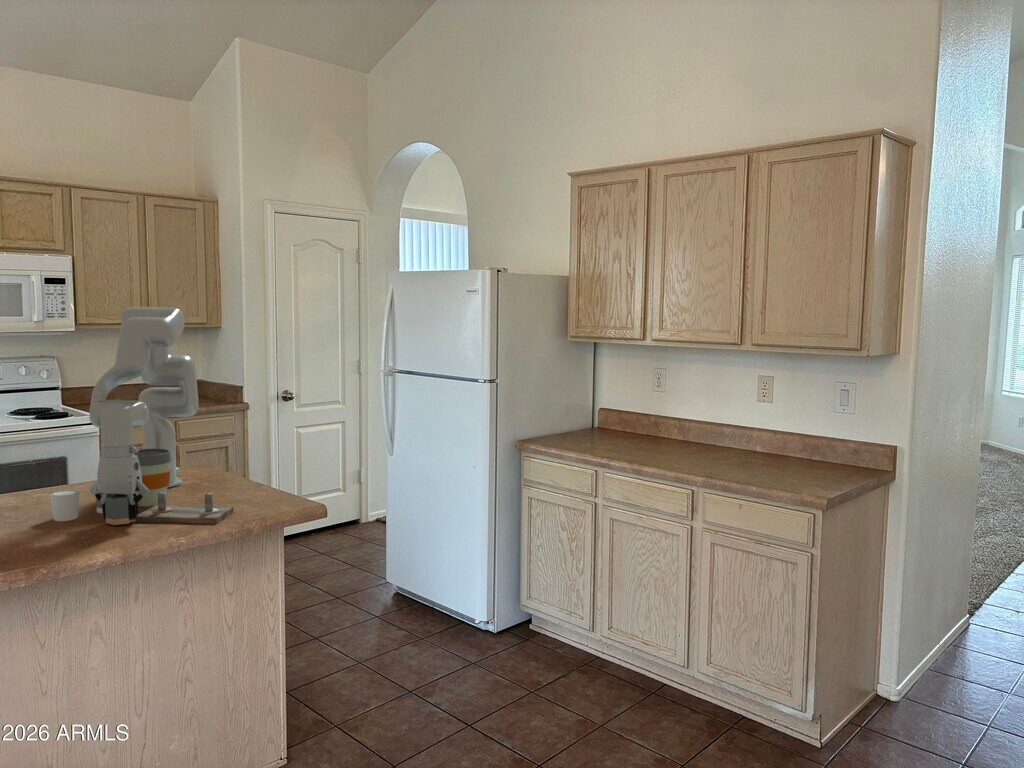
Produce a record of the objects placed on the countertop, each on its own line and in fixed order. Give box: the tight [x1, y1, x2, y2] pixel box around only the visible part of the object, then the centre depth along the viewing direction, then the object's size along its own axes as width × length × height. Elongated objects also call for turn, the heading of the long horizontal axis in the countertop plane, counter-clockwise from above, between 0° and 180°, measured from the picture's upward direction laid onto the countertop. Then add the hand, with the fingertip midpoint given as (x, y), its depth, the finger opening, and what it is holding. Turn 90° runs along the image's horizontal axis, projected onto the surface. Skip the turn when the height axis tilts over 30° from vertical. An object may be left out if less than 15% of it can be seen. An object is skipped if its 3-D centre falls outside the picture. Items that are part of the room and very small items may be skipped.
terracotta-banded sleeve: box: [105, 494, 135, 526], centre depth 203 cm, size 7×6×7 cm
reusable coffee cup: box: [134, 448, 171, 507], centre depth 225 cm, size 13×13×15 cm
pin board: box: [134, 492, 234, 525], centre depth 211 cm, size 12×22×6 cm, turn 89°
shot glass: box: [49, 490, 80, 522], centre depth 207 cm, size 7×7×7 cm
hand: (120, 517), depth 204 cm, fingers closed on terracotta-banded sleeve, 6 cm apart
